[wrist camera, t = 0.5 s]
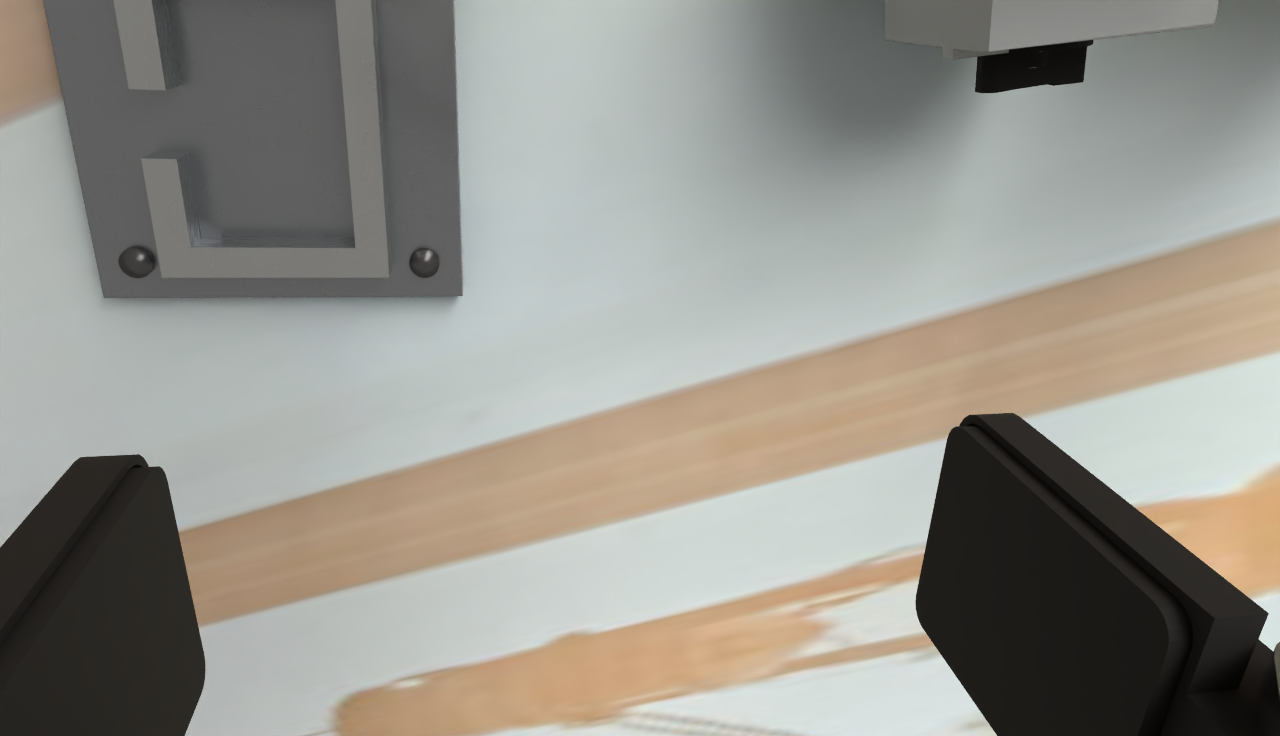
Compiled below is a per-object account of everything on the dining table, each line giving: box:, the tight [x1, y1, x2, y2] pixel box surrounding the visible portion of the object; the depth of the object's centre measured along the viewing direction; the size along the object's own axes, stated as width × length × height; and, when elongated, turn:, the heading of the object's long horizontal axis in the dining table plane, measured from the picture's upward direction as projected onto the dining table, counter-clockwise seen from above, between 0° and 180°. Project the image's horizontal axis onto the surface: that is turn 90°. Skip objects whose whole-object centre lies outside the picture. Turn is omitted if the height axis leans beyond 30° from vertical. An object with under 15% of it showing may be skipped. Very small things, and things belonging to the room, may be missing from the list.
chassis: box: [43, 0, 463, 298], centre depth 32 cm, size 18×14×2 cm
